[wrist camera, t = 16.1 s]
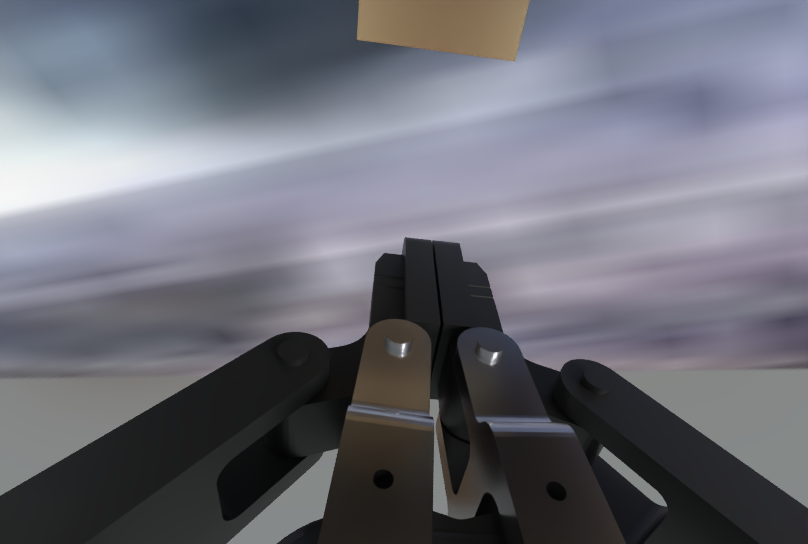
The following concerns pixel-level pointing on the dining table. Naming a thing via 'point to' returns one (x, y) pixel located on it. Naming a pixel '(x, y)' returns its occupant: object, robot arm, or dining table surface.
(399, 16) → the tray
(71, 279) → the dining table surface
